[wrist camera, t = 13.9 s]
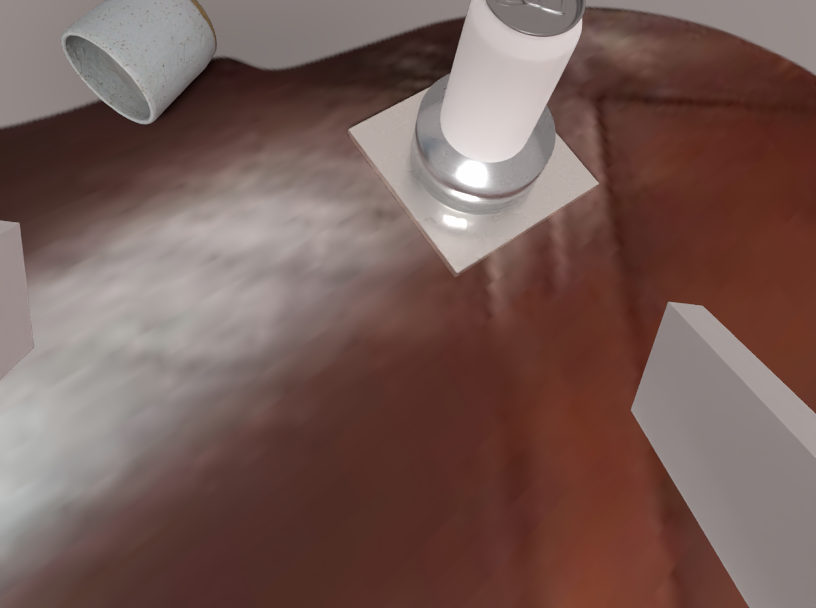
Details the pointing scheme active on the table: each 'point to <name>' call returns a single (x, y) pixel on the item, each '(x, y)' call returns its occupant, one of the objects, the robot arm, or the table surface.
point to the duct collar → (468, 179)
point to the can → (506, 73)
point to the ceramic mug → (140, 52)
